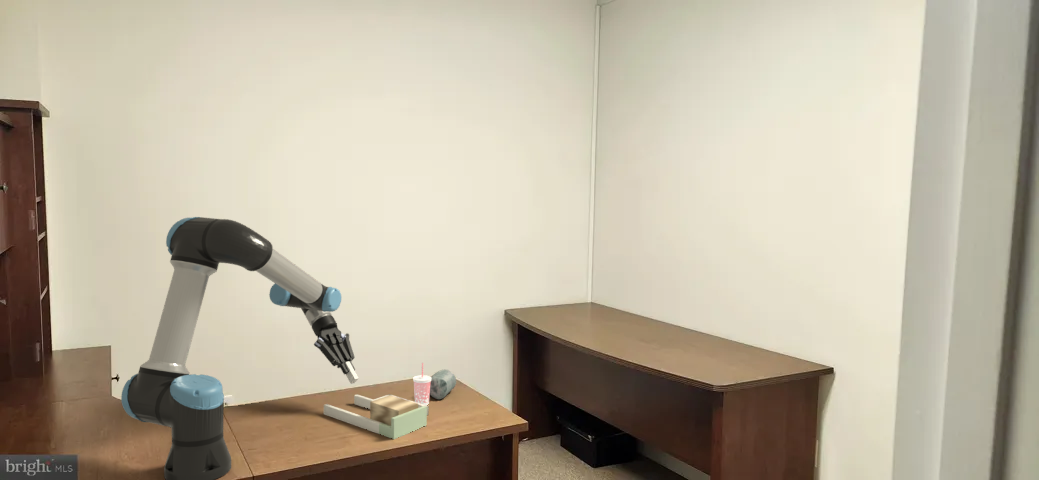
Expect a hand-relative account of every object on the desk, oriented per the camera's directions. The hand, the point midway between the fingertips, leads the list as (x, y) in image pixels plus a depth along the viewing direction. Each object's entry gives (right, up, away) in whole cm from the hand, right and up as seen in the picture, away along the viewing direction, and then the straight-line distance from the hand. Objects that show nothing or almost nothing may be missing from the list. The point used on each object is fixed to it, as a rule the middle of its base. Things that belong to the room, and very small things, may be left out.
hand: (354, 381), depth 211 cm
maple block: (+14, -12, -10) cm, 21 cm away
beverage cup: (+20, -10, +10) cm, 24 cm away
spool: (+25, -9, +21) cm, 34 cm away
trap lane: (+9, -11, -2) cm, 14 cm away
